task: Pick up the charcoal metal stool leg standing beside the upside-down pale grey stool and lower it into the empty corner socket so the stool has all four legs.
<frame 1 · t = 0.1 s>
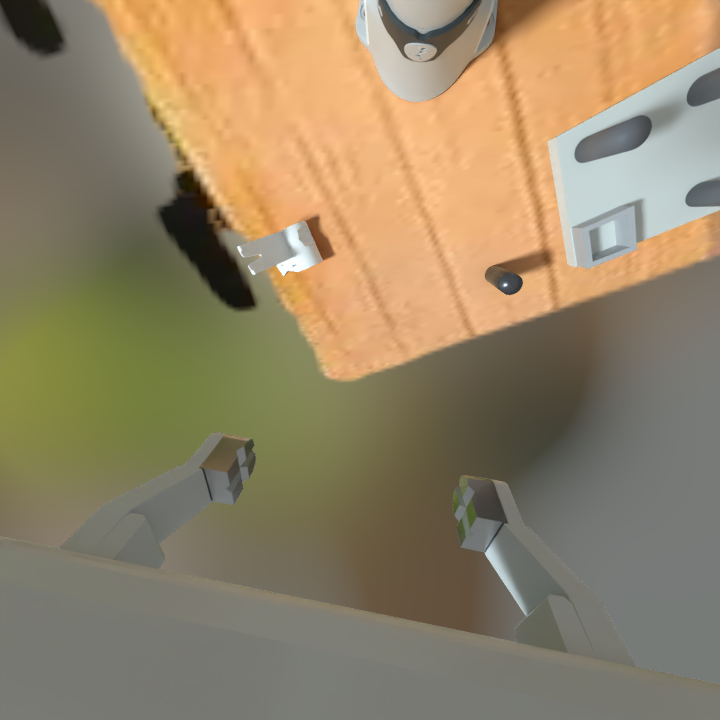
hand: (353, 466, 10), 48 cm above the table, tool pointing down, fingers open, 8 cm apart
stool seat: (630, 174, 41), on the table
stool leg: (494, 273, 51), on the table
plastic part: (296, 249, 53), on the table
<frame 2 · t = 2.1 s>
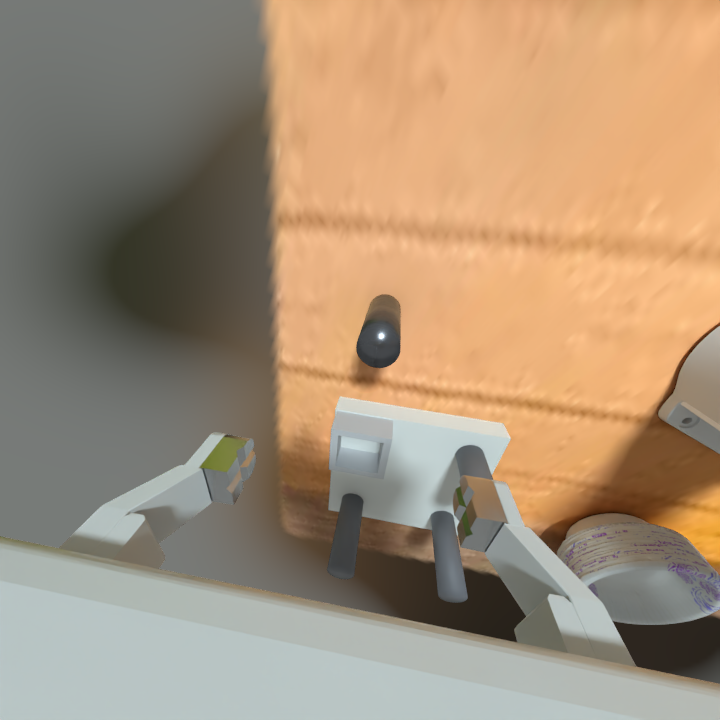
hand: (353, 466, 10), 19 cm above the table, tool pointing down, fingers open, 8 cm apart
paper bowls: (603, 530, 39), on the table
stool seat: (404, 464, 38), on the table
stool leg: (384, 310, 27), on the table
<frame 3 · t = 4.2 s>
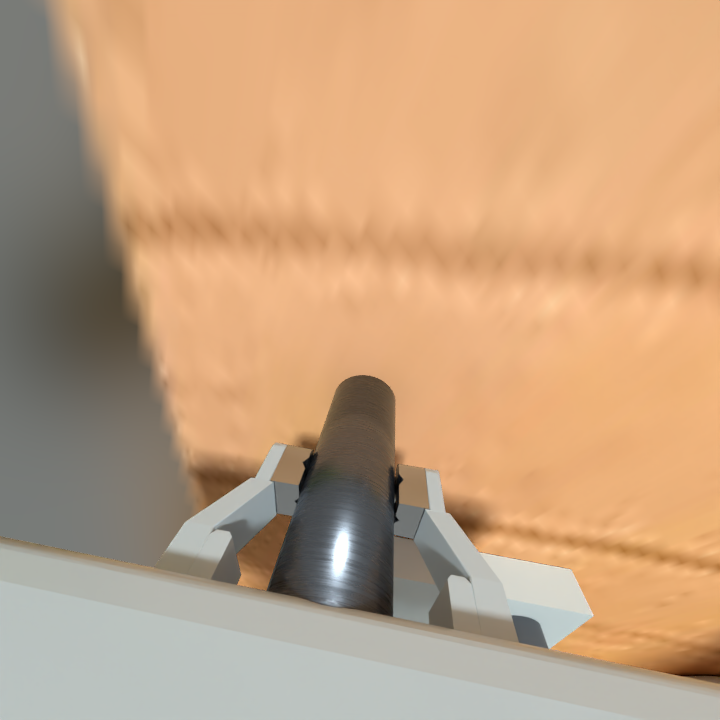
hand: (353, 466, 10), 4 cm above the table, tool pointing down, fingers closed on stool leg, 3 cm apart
stool seat: (404, 600, 24), on the table
stool leg: (364, 401, 14), on the table, touching gripper
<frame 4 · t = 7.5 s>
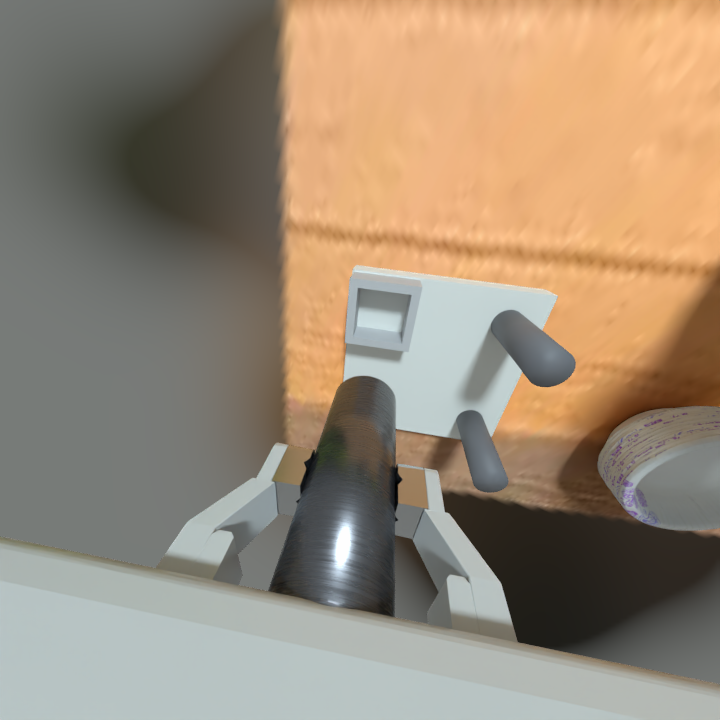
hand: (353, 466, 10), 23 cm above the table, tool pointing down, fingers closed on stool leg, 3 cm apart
paper bowls: (648, 435, 35), on the table
stool seat: (427, 358, 33), on the table
stool leg: (365, 401, 14), point 19 cm above the table, touching gripper
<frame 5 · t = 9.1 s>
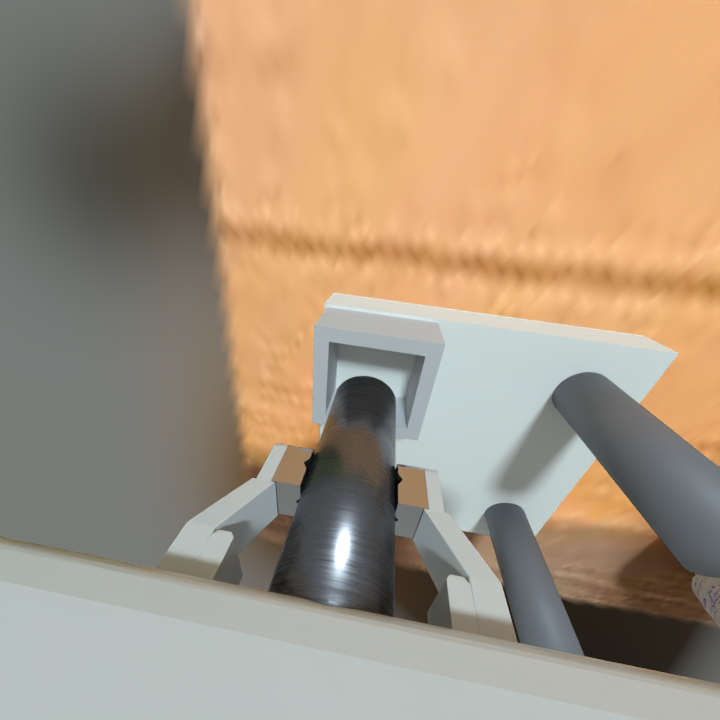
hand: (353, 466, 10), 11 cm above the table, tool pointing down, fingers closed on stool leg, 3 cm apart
stool seat: (443, 425, 22), on the table
stool leg: (365, 401, 14), point 7 cm above the table, touching gripper
when the fingers open (8 cm above the table, at t = 10.3 s): stool leg drops 1 cm, resting on stool seat.
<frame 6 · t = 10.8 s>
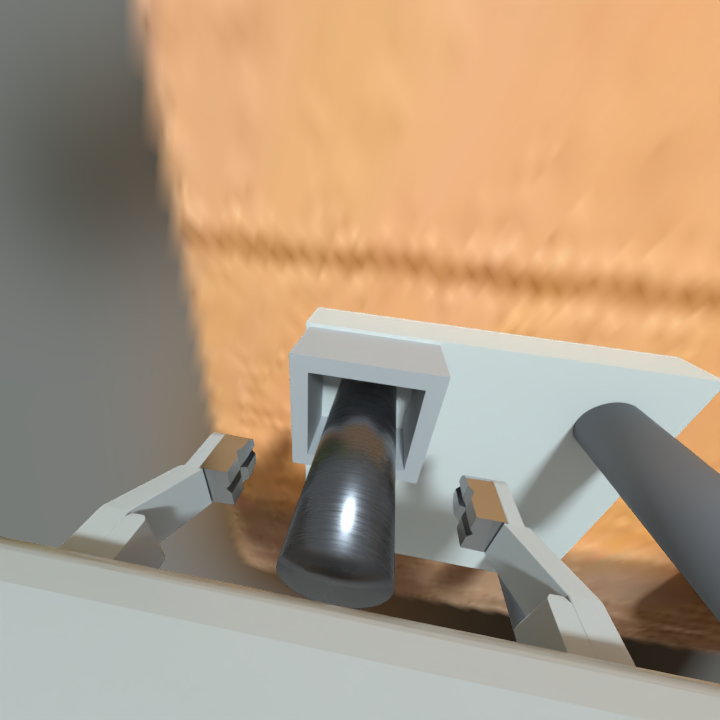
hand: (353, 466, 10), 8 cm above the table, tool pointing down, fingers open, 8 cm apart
stool seat: (445, 453, 20), on the table
stool leg: (367, 388, 15), point 3 cm above the table, touching stool seat
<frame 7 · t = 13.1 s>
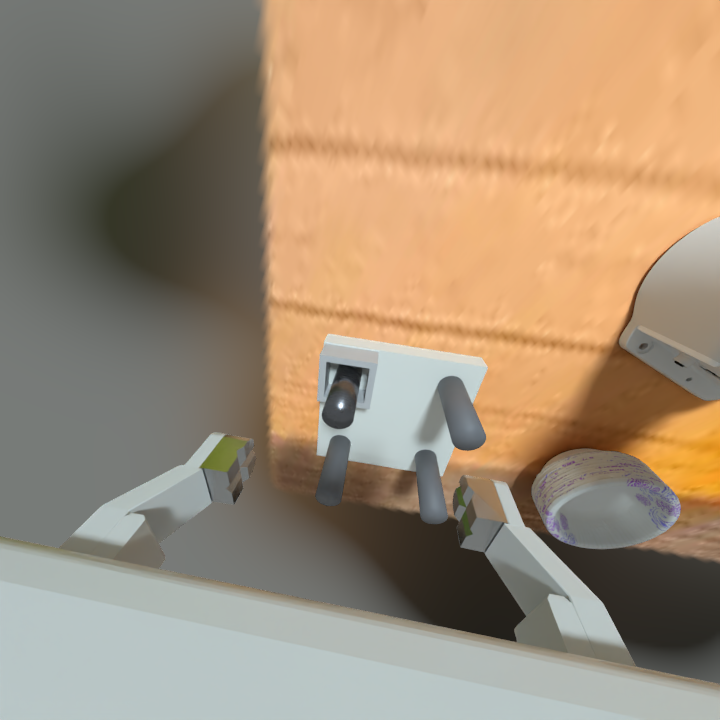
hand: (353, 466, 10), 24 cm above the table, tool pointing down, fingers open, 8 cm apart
paper bowls: (573, 468, 42), on the table
stool seat: (390, 406, 39), on the table
stool leg: (349, 370, 34), point 3 cm above the table, touching stool seat
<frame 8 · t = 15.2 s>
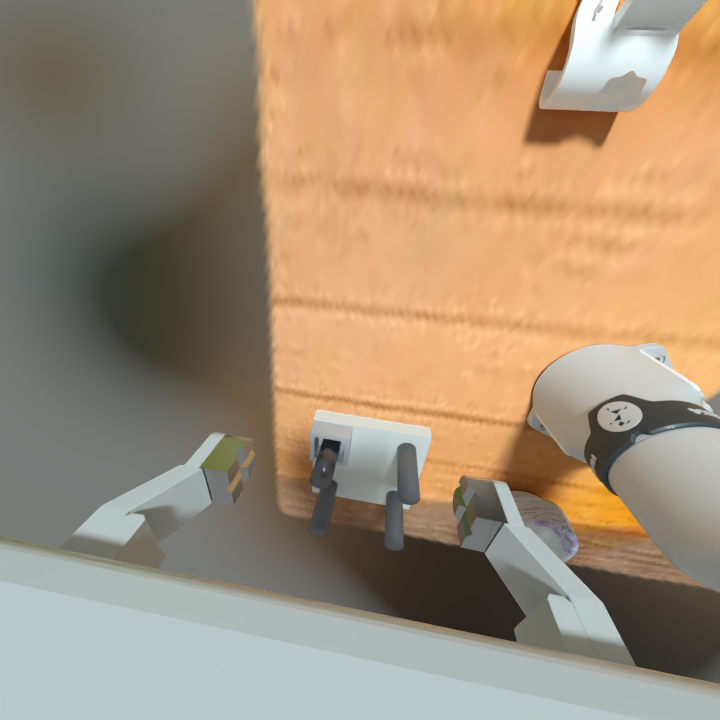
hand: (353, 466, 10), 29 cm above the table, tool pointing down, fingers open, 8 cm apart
paper bowls: (512, 504, 53), on the table
stool seat: (366, 457, 52), on the table
stool leg: (333, 437, 47), point 3 cm above the table, touching stool seat
plastic part: (597, 46, 24), on the table
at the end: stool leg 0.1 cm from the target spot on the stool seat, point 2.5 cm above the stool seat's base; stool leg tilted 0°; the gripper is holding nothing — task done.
